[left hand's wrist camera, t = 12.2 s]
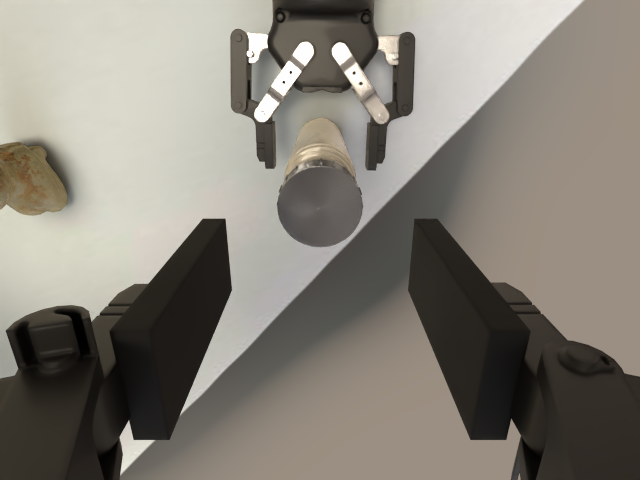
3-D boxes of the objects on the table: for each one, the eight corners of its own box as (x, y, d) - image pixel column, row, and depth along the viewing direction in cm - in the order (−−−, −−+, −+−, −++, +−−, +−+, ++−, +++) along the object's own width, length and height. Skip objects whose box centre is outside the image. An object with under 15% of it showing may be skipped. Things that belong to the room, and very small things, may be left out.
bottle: (294, 121, 39) (268, 166, 19) (339, 115, 39) (360, 155, 19) (301, 165, 41) (283, 251, 21) (344, 160, 41) (368, 241, 20)
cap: (273, 163, 20) (269, 171, 19) (356, 153, 20) (359, 159, 18) (286, 240, 22) (284, 252, 20) (363, 231, 21) (367, 243, 20)
